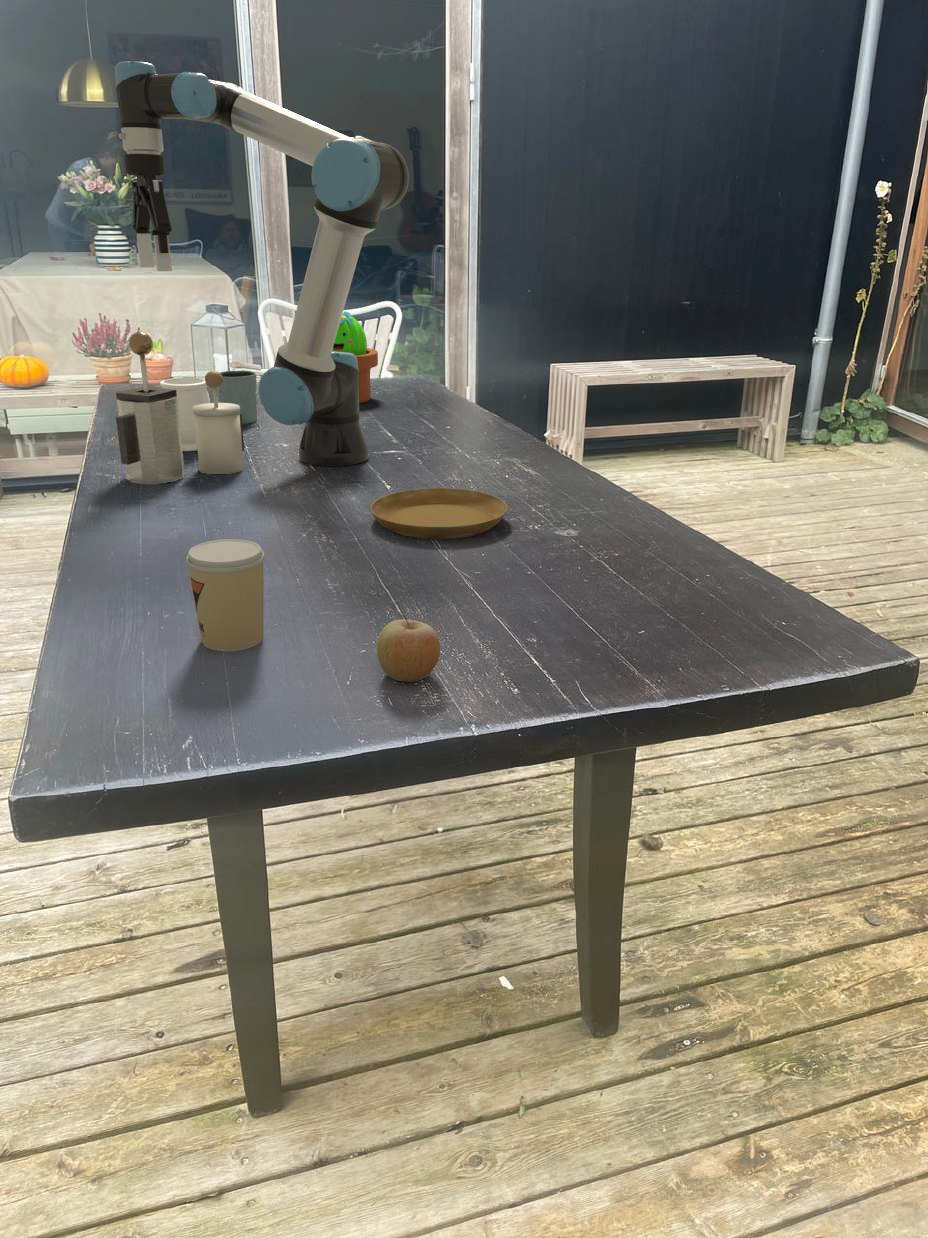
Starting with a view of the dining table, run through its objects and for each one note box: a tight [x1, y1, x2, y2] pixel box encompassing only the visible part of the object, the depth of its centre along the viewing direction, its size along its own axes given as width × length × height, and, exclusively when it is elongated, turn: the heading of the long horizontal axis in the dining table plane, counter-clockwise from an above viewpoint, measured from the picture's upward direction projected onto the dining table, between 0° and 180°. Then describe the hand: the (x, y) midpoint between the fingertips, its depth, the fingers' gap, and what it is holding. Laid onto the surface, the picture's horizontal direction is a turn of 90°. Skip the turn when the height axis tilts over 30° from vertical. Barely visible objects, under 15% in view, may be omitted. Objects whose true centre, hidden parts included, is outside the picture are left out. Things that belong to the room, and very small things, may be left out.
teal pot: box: [217, 369, 258, 425], centre depth 243 cm, size 10×10×12 cm
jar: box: [160, 377, 211, 452], centre depth 214 cm, size 11×10×15 cm
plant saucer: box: [369, 487, 508, 540], centre depth 169 cm, size 24×24×3 cm
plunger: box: [128, 331, 154, 393], centre depth 186 cm, size 8×8×21 cm
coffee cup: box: [185, 538, 265, 653], centre depth 119 cm, size 9×9×12 cm
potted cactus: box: [332, 310, 379, 404], centre depth 270 cm, size 22×22×25 cm
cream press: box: [193, 370, 245, 475], centre depth 197 cm, size 9×12×20 cm
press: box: [115, 386, 186, 485], centre depth 189 cm, size 11×14×17 cm
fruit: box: [376, 612, 441, 683], centre depth 111 cm, size 8×7×8 cm
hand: (155, 269), depth 195 cm, fingers open, 13 cm apart
